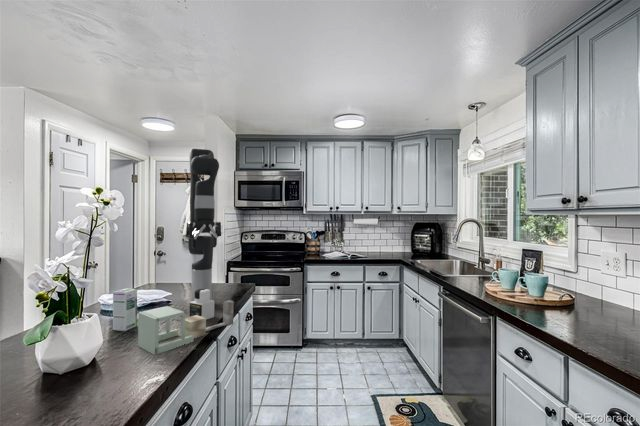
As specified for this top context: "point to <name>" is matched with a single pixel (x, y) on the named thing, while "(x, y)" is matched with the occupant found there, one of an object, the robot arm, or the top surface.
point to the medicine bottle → (202, 304)
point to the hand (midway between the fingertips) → (204, 248)
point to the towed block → (198, 323)
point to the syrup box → (124, 309)
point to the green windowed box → (150, 330)
